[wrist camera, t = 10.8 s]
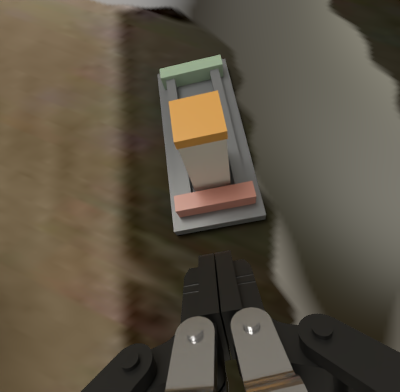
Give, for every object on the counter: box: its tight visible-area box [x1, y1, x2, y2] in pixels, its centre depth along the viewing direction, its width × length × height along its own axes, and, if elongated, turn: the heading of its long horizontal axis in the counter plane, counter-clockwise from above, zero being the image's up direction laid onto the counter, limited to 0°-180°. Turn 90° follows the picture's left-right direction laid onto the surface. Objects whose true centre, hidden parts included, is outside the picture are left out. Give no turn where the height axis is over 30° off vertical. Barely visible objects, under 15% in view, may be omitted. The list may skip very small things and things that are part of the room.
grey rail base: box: [157, 55, 266, 235], centre depth 32 cm, size 24×10×4 cm, turn 8°
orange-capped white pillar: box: [169, 90, 231, 192], centre depth 25 cm, size 4×4×10 cm
